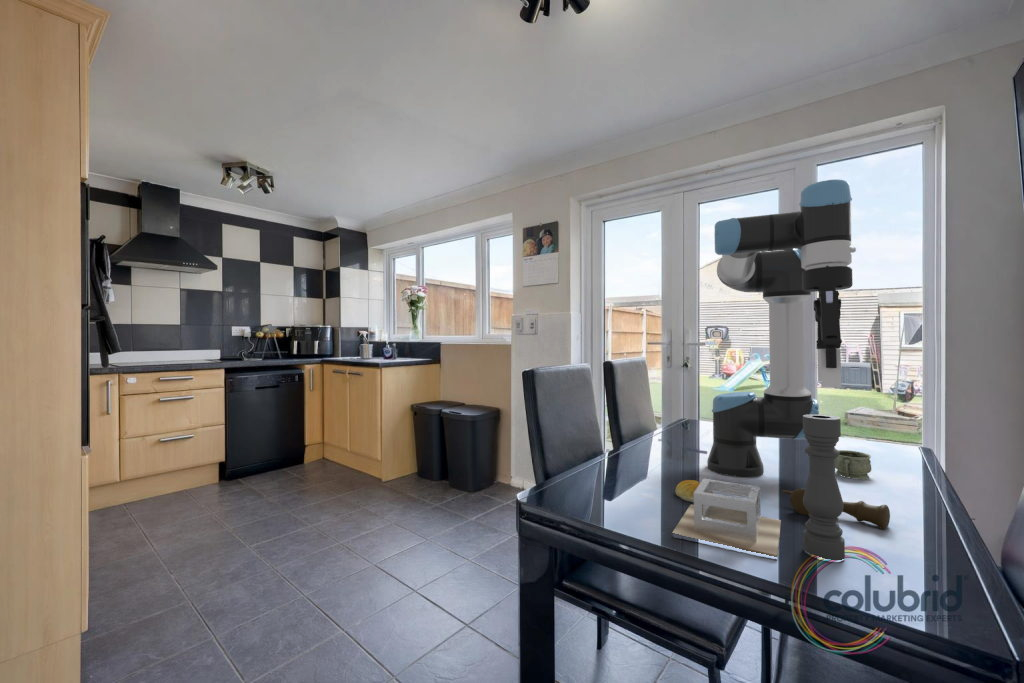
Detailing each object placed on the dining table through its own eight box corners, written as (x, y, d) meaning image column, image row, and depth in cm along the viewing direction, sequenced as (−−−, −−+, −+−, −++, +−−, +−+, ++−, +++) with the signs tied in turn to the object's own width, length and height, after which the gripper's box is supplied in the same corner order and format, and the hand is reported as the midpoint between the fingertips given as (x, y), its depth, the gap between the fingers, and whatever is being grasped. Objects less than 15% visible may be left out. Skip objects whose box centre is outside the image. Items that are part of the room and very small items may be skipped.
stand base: (690, 508, 103) (690, 504, 103) (780, 524, 94) (780, 520, 94) (672, 537, 88) (672, 532, 88) (777, 560, 78) (777, 555, 78)
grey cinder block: (704, 512, 98) (703, 478, 99) (760, 522, 92) (760, 486, 93) (694, 530, 89) (693, 492, 89) (756, 542, 83) (755, 502, 83)
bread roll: (698, 490, 116) (698, 475, 116) (718, 502, 108) (718, 486, 108) (669, 492, 115) (668, 477, 116) (686, 504, 107) (686, 487, 107)
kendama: (882, 539, 88) (772, 507, 103) (894, 527, 94) (789, 499, 109) (882, 508, 88) (773, 482, 103) (894, 499, 94) (789, 474, 109)
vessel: (839, 468, 134) (839, 447, 134) (877, 474, 127) (876, 452, 127) (827, 476, 126) (826, 454, 126) (865, 483, 120) (865, 460, 120)
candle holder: (805, 558, 79) (802, 418, 79) (801, 544, 85) (799, 413, 85) (848, 565, 76) (845, 420, 76) (841, 550, 82) (838, 415, 82)
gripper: (860, 254, 68) (863, 391, 68) (845, 275, 89) (847, 380, 89) (802, 259, 72) (805, 389, 72) (800, 278, 93) (802, 379, 93)
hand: (828, 384), depth 81 cm, fingers open, 13 cm apart
